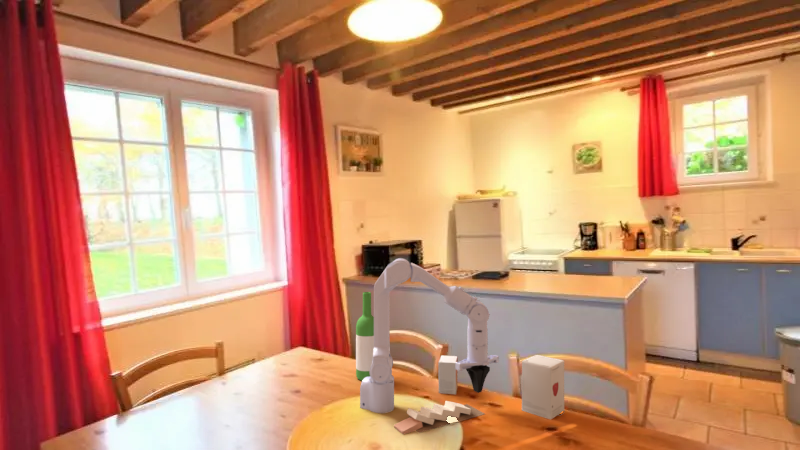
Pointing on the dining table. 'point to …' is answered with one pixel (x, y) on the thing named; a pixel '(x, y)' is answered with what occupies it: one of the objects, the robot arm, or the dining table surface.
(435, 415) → the domino
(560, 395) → the supplement box
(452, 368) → the small box
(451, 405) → the domino
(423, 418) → the domino
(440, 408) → the domino
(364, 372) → the wine bottle
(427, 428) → the board
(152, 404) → the dining table surface
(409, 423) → the domino
